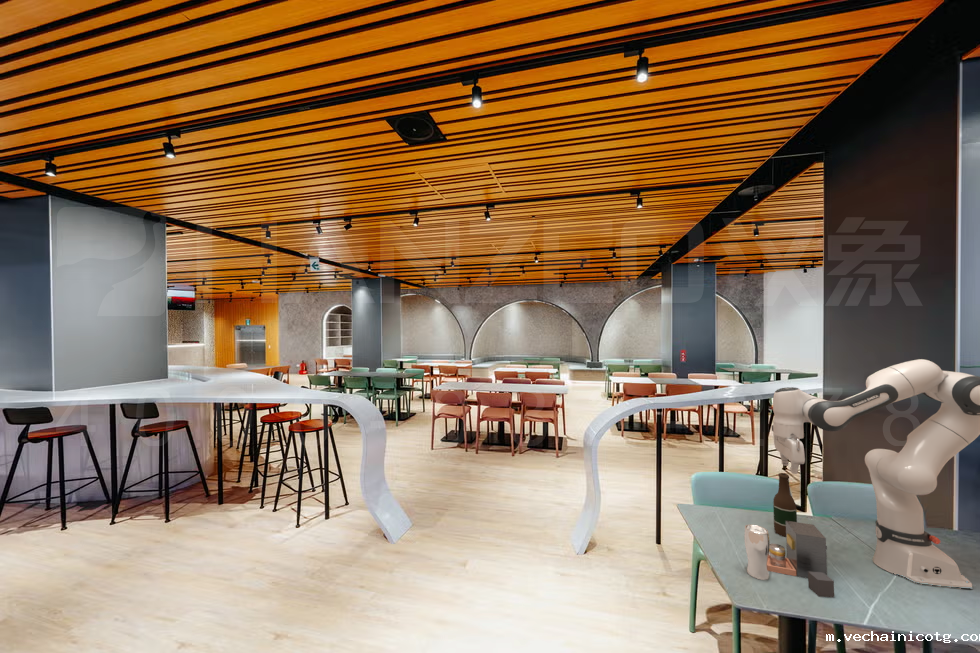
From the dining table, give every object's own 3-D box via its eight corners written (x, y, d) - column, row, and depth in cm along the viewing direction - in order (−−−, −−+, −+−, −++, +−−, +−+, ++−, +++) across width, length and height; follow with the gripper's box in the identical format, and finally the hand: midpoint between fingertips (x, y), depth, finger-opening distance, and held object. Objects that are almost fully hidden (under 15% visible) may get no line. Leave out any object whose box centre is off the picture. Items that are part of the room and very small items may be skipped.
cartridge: (783, 562, 134) (782, 544, 134) (788, 569, 129) (787, 551, 130) (767, 559, 135) (766, 542, 136) (772, 566, 131) (771, 549, 131)
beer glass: (763, 583, 123) (762, 536, 124) (740, 571, 130) (739, 526, 130) (774, 577, 127) (773, 531, 127) (752, 566, 133) (751, 522, 133)
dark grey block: (816, 565, 133) (815, 524, 134) (829, 582, 124) (827, 538, 124) (785, 560, 136) (784, 520, 137) (795, 576, 127) (794, 533, 128)
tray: (788, 563, 134) (788, 558, 135) (796, 576, 127) (796, 570, 127) (761, 558, 137) (760, 553, 138) (767, 570, 130) (767, 565, 130)
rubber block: (823, 588, 121) (823, 572, 121) (834, 597, 117) (833, 581, 117) (808, 587, 121) (808, 571, 122) (818, 596, 117) (817, 579, 117)
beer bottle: (769, 528, 160) (767, 470, 161) (789, 529, 159) (788, 471, 159) (781, 537, 152) (779, 476, 153) (802, 539, 151) (800, 477, 152)
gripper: (809, 438, 131) (811, 479, 130) (789, 426, 150) (790, 462, 149) (787, 437, 133) (788, 477, 133) (769, 425, 152) (770, 460, 151)
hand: (789, 469), depth 141 cm, fingers open, 8 cm apart
